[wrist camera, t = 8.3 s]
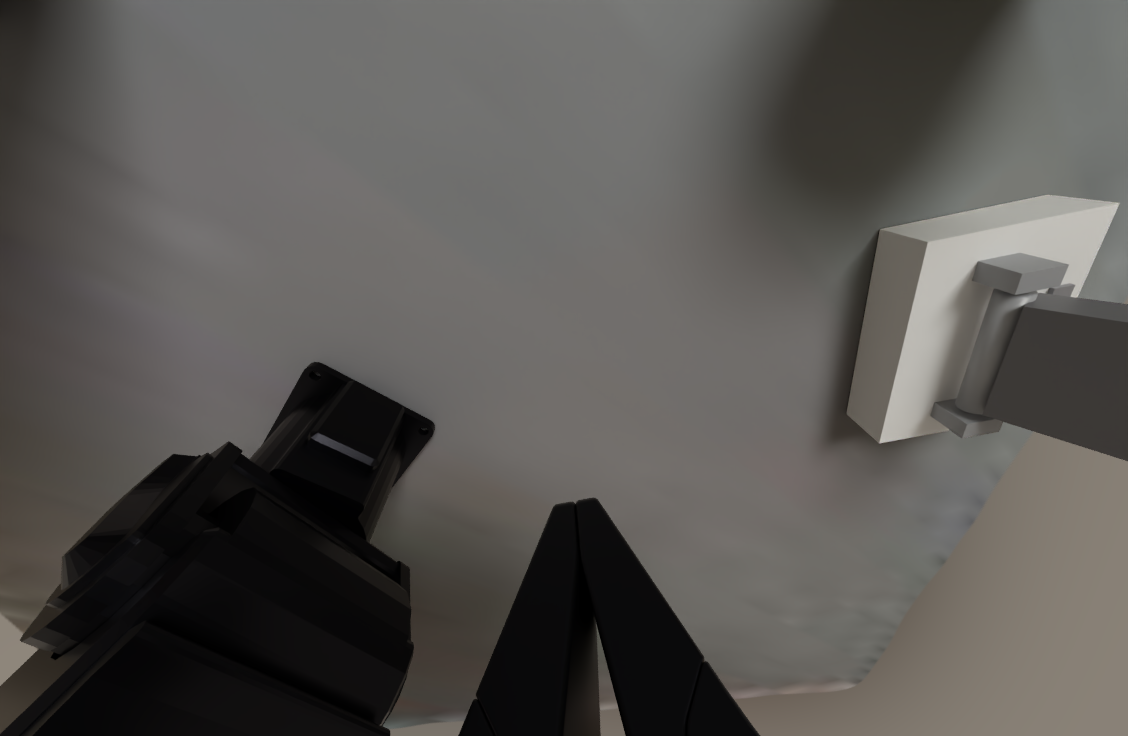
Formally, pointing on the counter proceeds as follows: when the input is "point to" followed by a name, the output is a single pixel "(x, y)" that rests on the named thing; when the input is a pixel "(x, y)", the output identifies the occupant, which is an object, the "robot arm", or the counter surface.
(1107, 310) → the rocker lever
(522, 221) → the counter surface
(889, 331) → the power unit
